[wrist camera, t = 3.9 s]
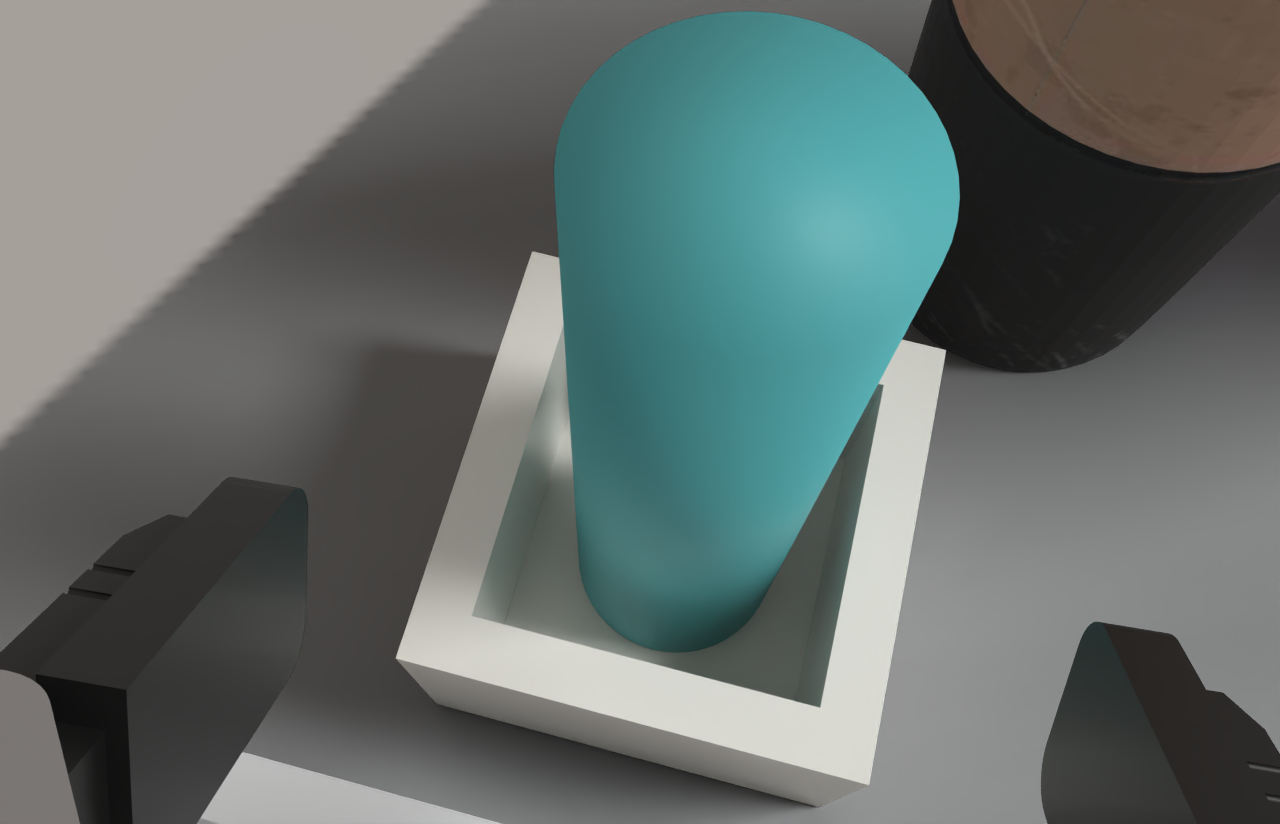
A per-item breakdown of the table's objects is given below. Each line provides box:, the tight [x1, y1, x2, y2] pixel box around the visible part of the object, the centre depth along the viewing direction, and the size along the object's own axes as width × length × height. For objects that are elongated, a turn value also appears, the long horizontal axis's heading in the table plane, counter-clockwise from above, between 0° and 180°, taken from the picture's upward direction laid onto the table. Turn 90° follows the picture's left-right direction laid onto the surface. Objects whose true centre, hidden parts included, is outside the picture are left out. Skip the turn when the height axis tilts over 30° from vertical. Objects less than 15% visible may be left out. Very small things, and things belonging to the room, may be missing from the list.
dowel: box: [554, 11, 960, 653], centre depth 18 cm, size 4×4×14 cm
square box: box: [396, 251, 946, 807], centre depth 23 cm, size 8×8×5 cm
